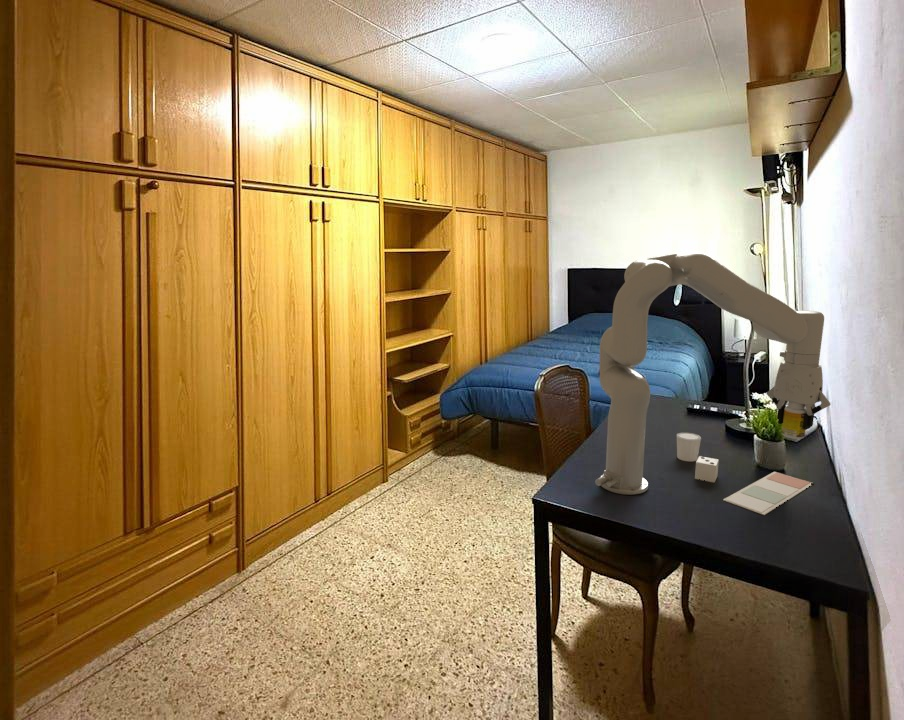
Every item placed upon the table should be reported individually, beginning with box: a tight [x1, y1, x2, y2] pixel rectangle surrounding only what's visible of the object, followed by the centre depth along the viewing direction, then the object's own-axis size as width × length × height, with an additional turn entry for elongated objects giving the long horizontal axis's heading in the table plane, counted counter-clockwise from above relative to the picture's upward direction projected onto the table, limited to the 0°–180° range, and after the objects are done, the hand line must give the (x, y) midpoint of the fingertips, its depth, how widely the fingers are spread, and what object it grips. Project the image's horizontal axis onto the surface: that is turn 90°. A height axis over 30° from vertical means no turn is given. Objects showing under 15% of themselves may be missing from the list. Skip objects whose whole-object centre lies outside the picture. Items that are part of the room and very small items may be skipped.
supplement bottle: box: [781, 401, 807, 440], centre depth 145 cm, size 5×5×10 cm
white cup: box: [676, 432, 702, 462], centre depth 165 cm, size 7×7×7 cm
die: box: [694, 455, 720, 484], centre depth 152 cm, size 5×5×5 cm
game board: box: [722, 471, 812, 516], centre depth 142 cm, size 28×10×1 cm, turn 126°
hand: (794, 425), depth 145 cm, fingers closed on supplement bottle, 5 cm apart
